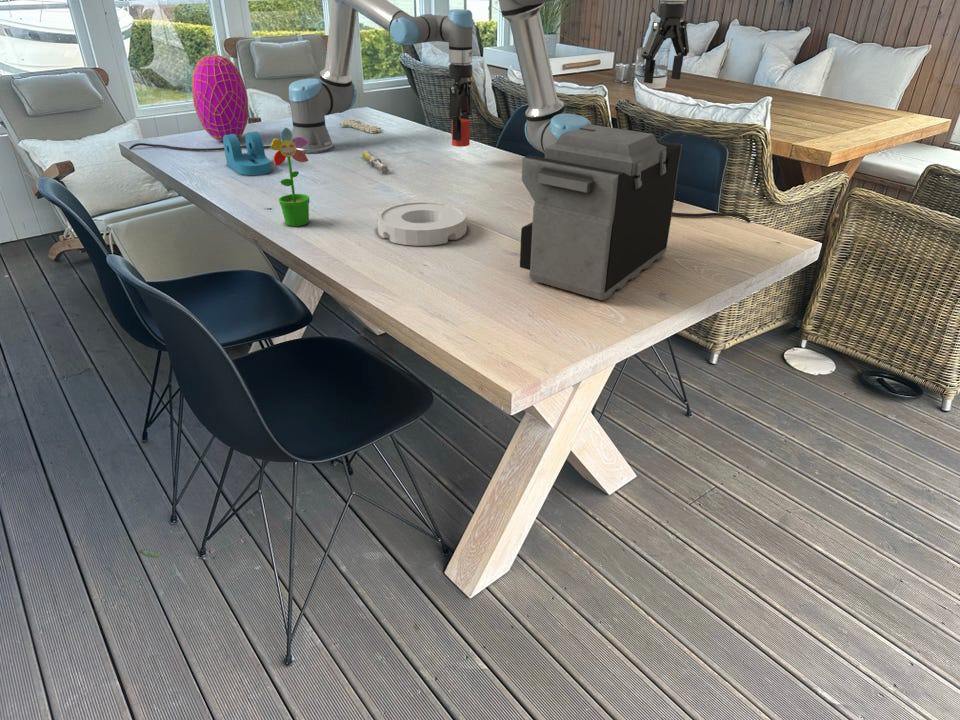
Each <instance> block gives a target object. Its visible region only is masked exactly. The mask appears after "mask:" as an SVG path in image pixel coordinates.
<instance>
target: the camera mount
mask: <svg viewBox="0 0 960 720" xmlns="http://www.w3.org/2000/svg"><path fill="white" fill-rule="evenodd" d="M222 143H223V148H224V150H223V151H224V156H225V161H226V165H227V166H228V167H230V168H231V169H232V170H234V171H236V172H237V173H238V174H239V175H244V176H260V175H265V174H268V173H271V172H272V164H271V159H270V158H268V157H267V156H266V153H265V148H264V146H265V145H264V141H263V139H262V136H261V134H260V132H258V131H247V132H246V133H245V146H246V147H247V148H246V152H243V151H242V150H243V149H242V148H241V146H242V145H241V142H240V140H239V138H237V136H236V135H235V134H230V135H224V137H223V141H222Z"/></svg>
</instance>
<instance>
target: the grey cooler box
mask: <svg viewBox="0 0 960 720" xmlns="http://www.w3.org/2000/svg"><path fill="white" fill-rule="evenodd" d="M682 147H683V144H682V143H677V142H671V141H665V140H658V139H656V136H655V134H654V133H649V132H643V131H636V130H629V129H623V128H616V127H610V126H603V125H597V124H591V125H590V124H589V125H586V126H583V127H580V128H579V130H577V131H569V132H566V133H563V134H561V135H560V137H559V138H558V140H557V141H556V143H554V144H552V145H550V146H548V147H545V153H544V157H540V156H535V155H531V154H529V155H525V156H523V157H522V161H521V182H522V183H523V185H524V186H525V188H526V190H527V192H528V193H529V195H530V197H531V199H532V200H533V201H534V204H533V209H532V222H530V223H528V224H526V225H524V226H522V227H521V230H520V231H521V232H520V251H519V268H521V269H525V270H528V271H529V278H530V280H531V281H534V282H537V283H541V284H544V285H547V286H551V287H554V288H558V289H561V290H565V291H568V292H572V293H575V294H579V295H582V296H585V297H589V298H591V299H592V298H593V299H596V300H599V301H606V300H608V299H609V298H610V297H611V296H612V295H613V293H614V292H615V291H616V290H621V289H622V288H624V287H625V285H626V284H627V282H628V281H629V280H634V279H635V278H637V277H638V276H639V275H640V273H641V272H642V271H643V270H647V269H649V268H650V267H651V266H652V265H653V263H654V262H655V261H659V260H661V259H662V258H663V257H664V255H665V253H666V252H667V248H668V242H669V236H670V228H671V223H672V222H671V221H672V216H673V215H672V212H673V210H674V203H675V198H676V192H677V191H676V190H677V180H678V173H679V168H680V167H679V166H680V162H681V161H680V160H681V154H682V149H683V148H682Z"/></svg>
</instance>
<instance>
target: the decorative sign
mask: <svg viewBox="0 0 960 720" xmlns="http://www.w3.org/2000/svg"><path fill="white" fill-rule="evenodd" d="M361 122H362V121H361V120H356V118H348V119H345V120H340V124H341V127H342V128H346V127H347V128H354V129H358V130H360V131H365V132H366V133H370V134H376V133H381V131H382V130H381V129H382V127H381V126H377V125H370V124H369V123H361Z"/></svg>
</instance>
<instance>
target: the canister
mask: <svg viewBox="0 0 960 720" xmlns="http://www.w3.org/2000/svg"><path fill="white" fill-rule="evenodd" d="M460 120H461V140H453V120H452V119H451V145H452V146H453V147H459V148H463V147H468V146H470V143H471V142H470V141H471V140H470V139H471V137H470V135H471V134H470V133H471V126H470V125H471V124H470V123H471V122H470V119H469V120H468V119H460Z"/></svg>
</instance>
